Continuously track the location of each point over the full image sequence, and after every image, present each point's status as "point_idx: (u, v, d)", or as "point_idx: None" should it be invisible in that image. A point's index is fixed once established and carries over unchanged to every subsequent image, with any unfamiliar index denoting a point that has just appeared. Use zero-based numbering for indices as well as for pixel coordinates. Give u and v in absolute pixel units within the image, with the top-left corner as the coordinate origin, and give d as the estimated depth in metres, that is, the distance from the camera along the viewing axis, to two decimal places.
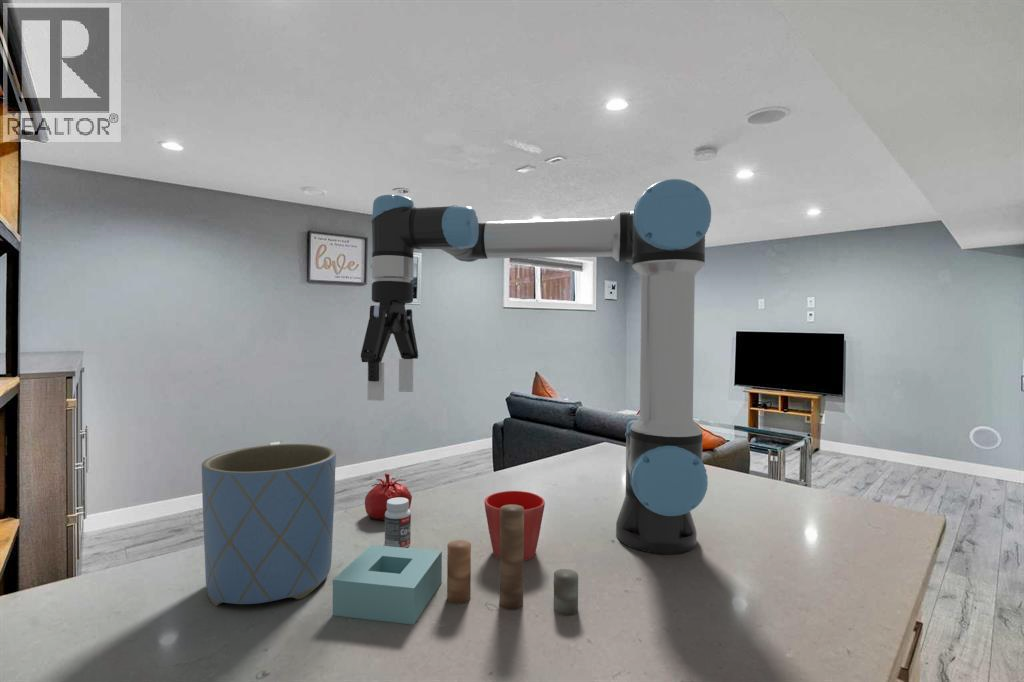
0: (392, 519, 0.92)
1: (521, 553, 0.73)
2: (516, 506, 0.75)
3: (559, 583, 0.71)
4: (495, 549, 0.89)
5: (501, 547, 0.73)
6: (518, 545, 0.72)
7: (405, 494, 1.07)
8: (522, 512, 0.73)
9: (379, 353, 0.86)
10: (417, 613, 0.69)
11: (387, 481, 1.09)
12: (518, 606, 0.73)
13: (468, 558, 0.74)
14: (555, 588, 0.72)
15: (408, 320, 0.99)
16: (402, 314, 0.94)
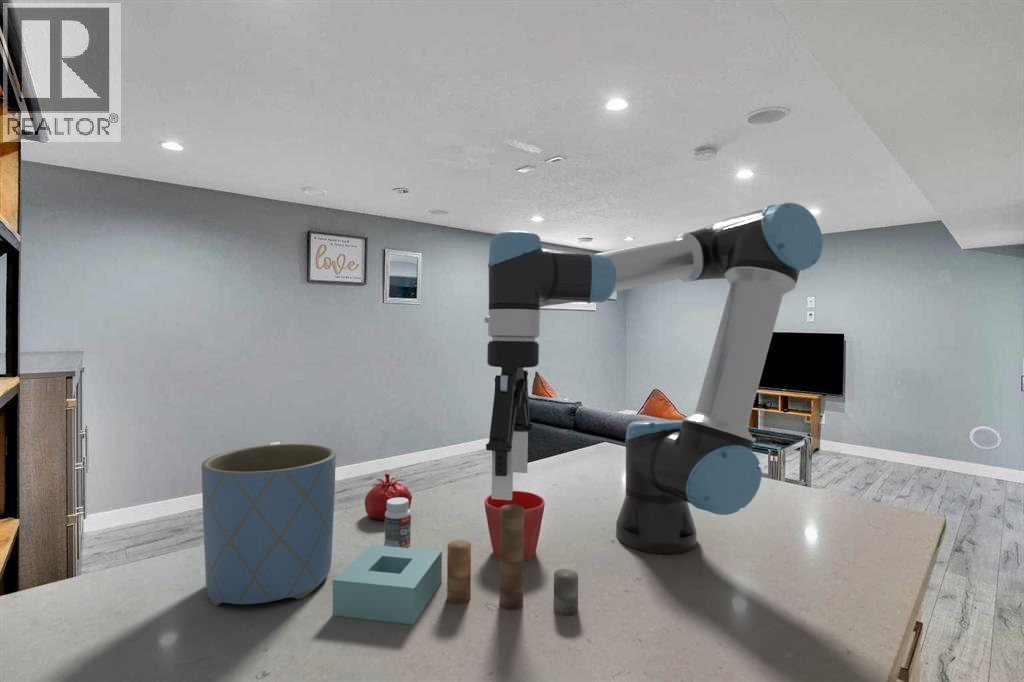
0: (392, 519, 0.92)
1: (521, 553, 0.73)
2: (516, 506, 0.75)
3: (559, 583, 0.71)
4: (495, 549, 0.89)
5: (501, 547, 0.73)
6: (518, 545, 0.72)
7: (405, 494, 1.07)
8: (522, 512, 0.73)
9: (509, 439, 0.66)
10: (417, 613, 0.69)
11: (387, 481, 1.09)
12: (518, 606, 0.73)
13: (468, 558, 0.74)
14: (555, 588, 0.72)
15: None
16: (524, 380, 0.74)
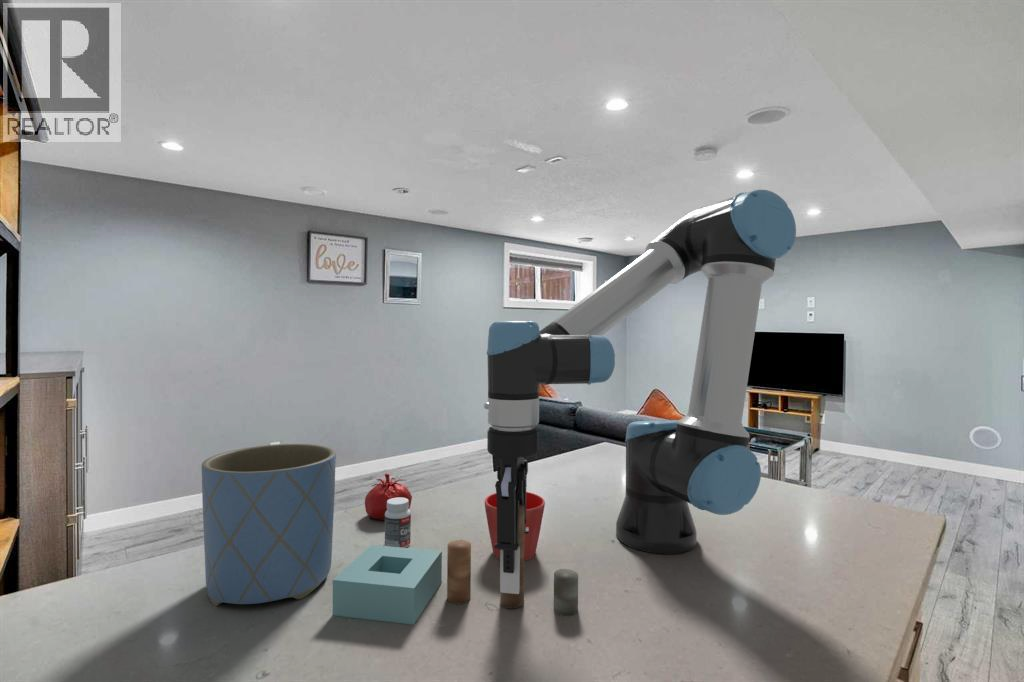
0: (392, 519, 0.92)
1: (522, 552, 0.73)
2: None
3: (559, 583, 0.71)
4: (495, 549, 0.89)
5: None
6: (519, 544, 0.73)
7: (405, 494, 1.07)
8: (522, 511, 0.73)
9: (515, 540, 0.70)
10: (417, 613, 0.69)
11: (387, 481, 1.09)
12: (519, 605, 0.73)
13: (468, 558, 0.74)
14: (555, 588, 0.72)
15: None
16: (524, 464, 0.75)
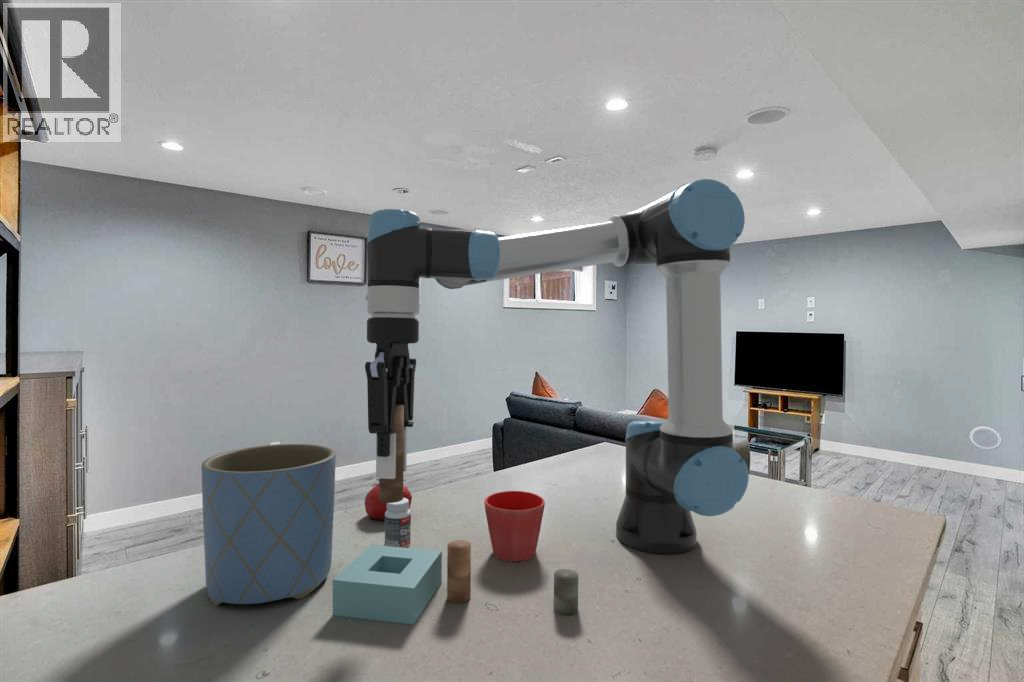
0: (392, 519, 0.92)
1: (399, 448, 0.74)
2: (398, 404, 0.76)
3: (559, 583, 0.71)
4: (495, 549, 0.89)
5: None
6: (396, 440, 0.73)
7: (405, 494, 1.07)
8: (401, 408, 0.74)
9: (389, 424, 0.71)
10: (417, 613, 0.69)
11: None
12: (396, 500, 0.74)
13: (468, 558, 0.74)
14: (555, 588, 0.72)
15: (410, 370, 0.79)
16: (405, 356, 0.76)
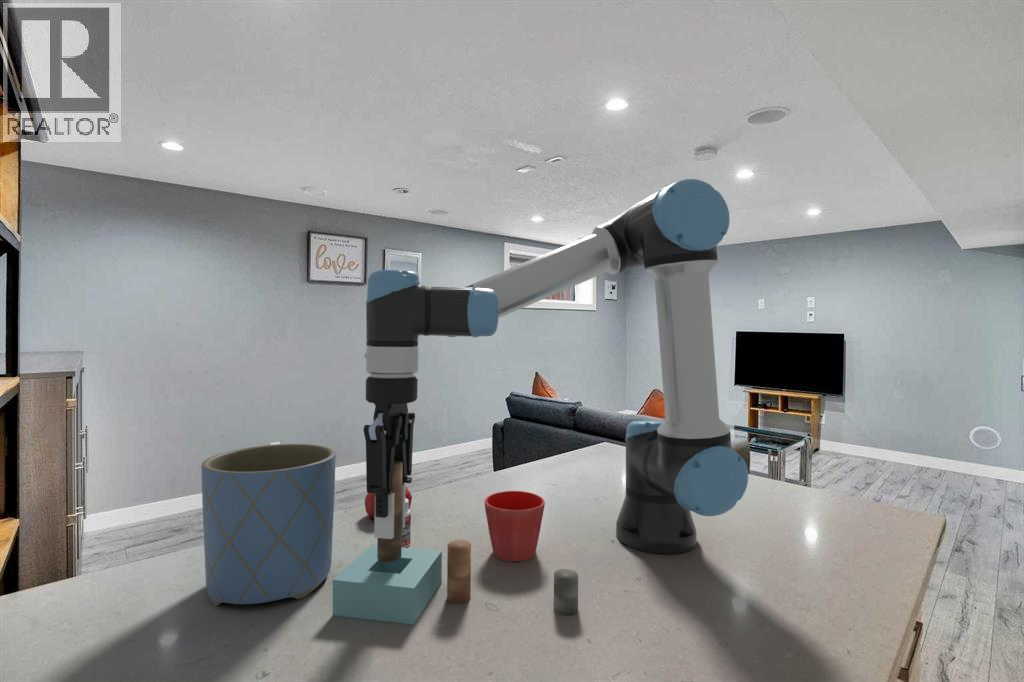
0: None
1: (398, 507, 0.74)
2: (396, 461, 0.76)
3: (559, 583, 0.71)
4: (495, 549, 0.89)
5: None
6: (394, 499, 0.74)
7: (405, 494, 1.07)
8: (399, 466, 0.74)
9: (387, 485, 0.71)
10: (417, 613, 0.69)
11: None
12: (394, 559, 0.74)
13: (468, 558, 0.74)
14: (555, 588, 0.72)
15: (408, 425, 0.80)
16: (404, 414, 0.76)
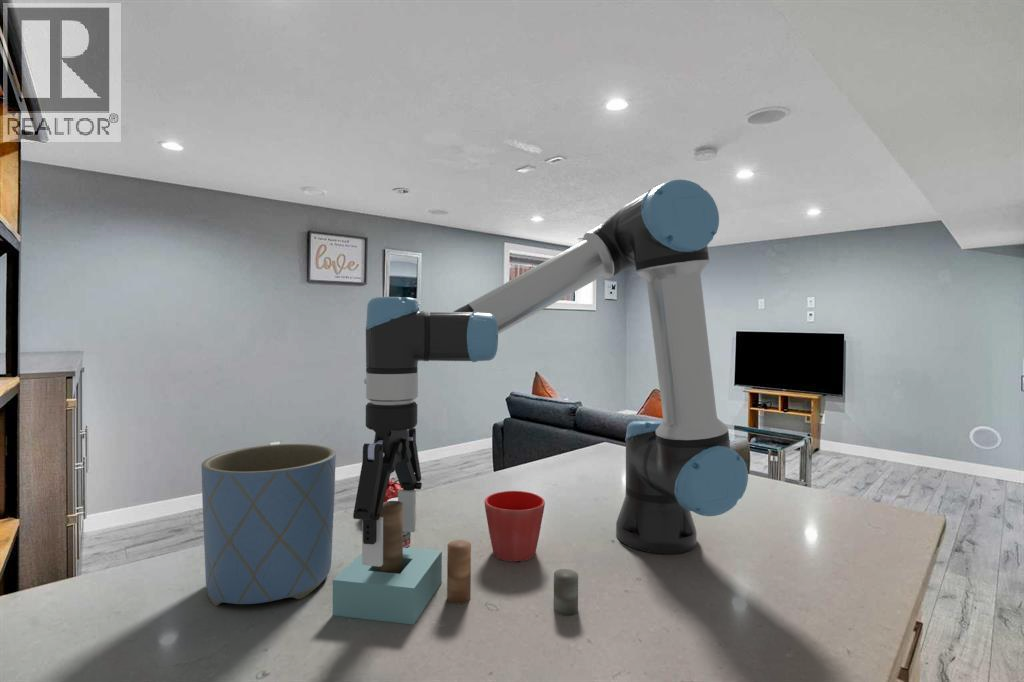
0: None
1: (398, 549, 0.74)
2: (397, 502, 0.76)
3: (559, 583, 0.71)
4: (495, 549, 0.89)
5: None
6: (395, 541, 0.74)
7: None
8: (399, 508, 0.74)
9: (376, 508, 0.68)
10: (417, 613, 0.69)
11: None
12: None
13: (468, 558, 0.74)
14: (555, 588, 0.72)
15: (411, 442, 0.80)
16: (404, 440, 0.76)
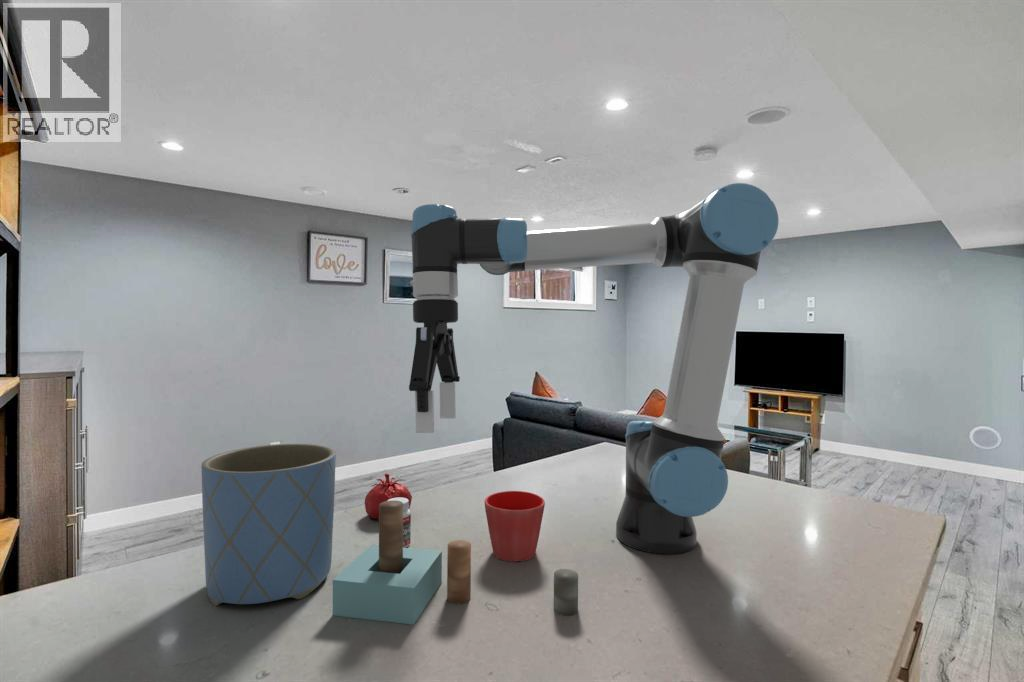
0: None
1: (398, 548, 0.74)
2: (397, 502, 0.76)
3: (559, 583, 0.71)
4: (495, 549, 0.89)
5: (379, 542, 0.74)
6: (395, 540, 0.74)
7: (405, 494, 1.07)
8: (399, 508, 0.74)
9: (428, 380, 0.77)
10: (417, 613, 0.69)
11: (387, 481, 1.09)
12: None
13: (468, 558, 0.74)
14: (555, 588, 0.72)
15: (449, 340, 0.91)
16: (446, 335, 0.86)
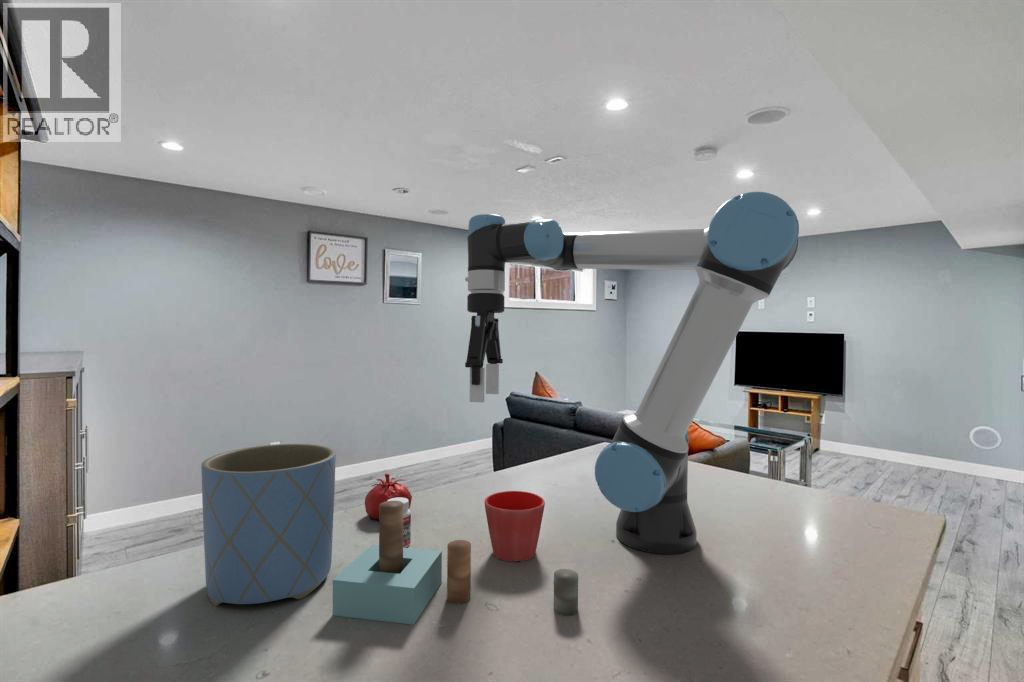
0: None
1: (399, 548, 0.74)
2: (397, 502, 0.76)
3: (559, 583, 0.71)
4: (495, 549, 0.89)
5: (379, 542, 0.74)
6: (395, 541, 0.74)
7: (405, 494, 1.07)
8: (400, 508, 0.74)
9: (481, 359, 0.94)
10: (417, 613, 0.69)
11: (387, 481, 1.09)
12: None
13: (468, 558, 0.74)
14: (555, 588, 0.72)
15: None
16: (494, 323, 1.03)
